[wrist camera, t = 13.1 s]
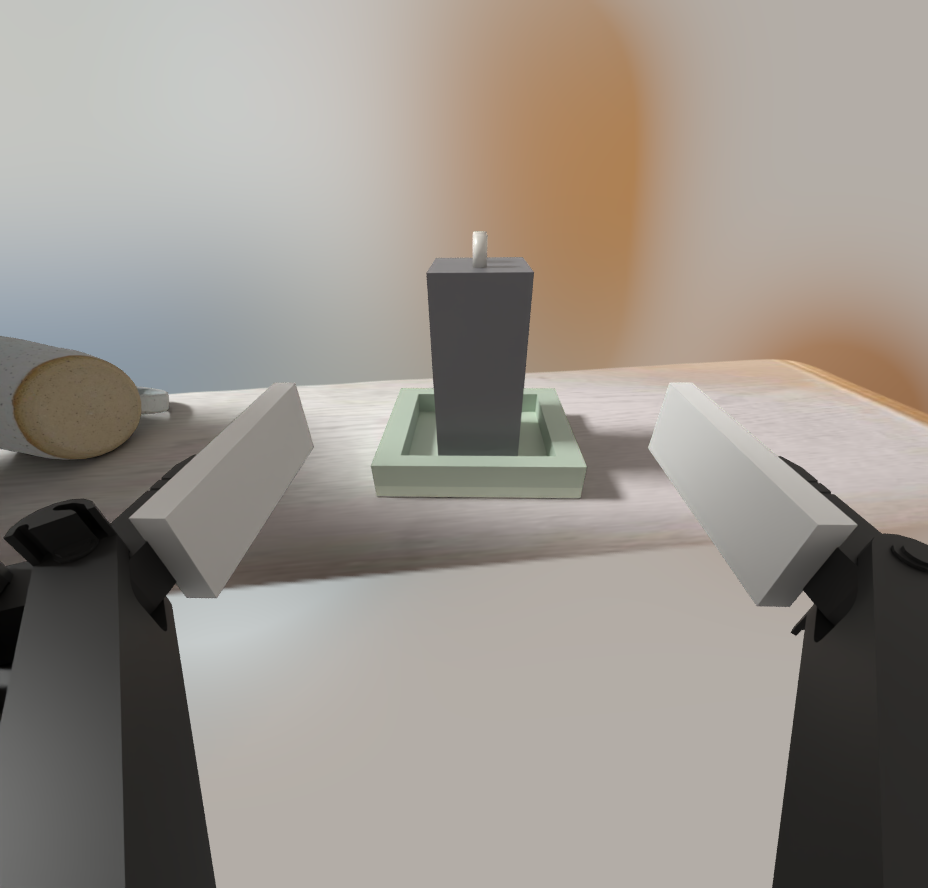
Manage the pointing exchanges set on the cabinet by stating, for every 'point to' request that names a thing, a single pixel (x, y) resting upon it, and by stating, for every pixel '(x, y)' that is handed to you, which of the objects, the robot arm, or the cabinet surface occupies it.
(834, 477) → the cabinet surface
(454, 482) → the shallow pale green tray
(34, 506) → the cabinet surface
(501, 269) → the charger brick
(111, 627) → the robot arm
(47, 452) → the ceramic mug
